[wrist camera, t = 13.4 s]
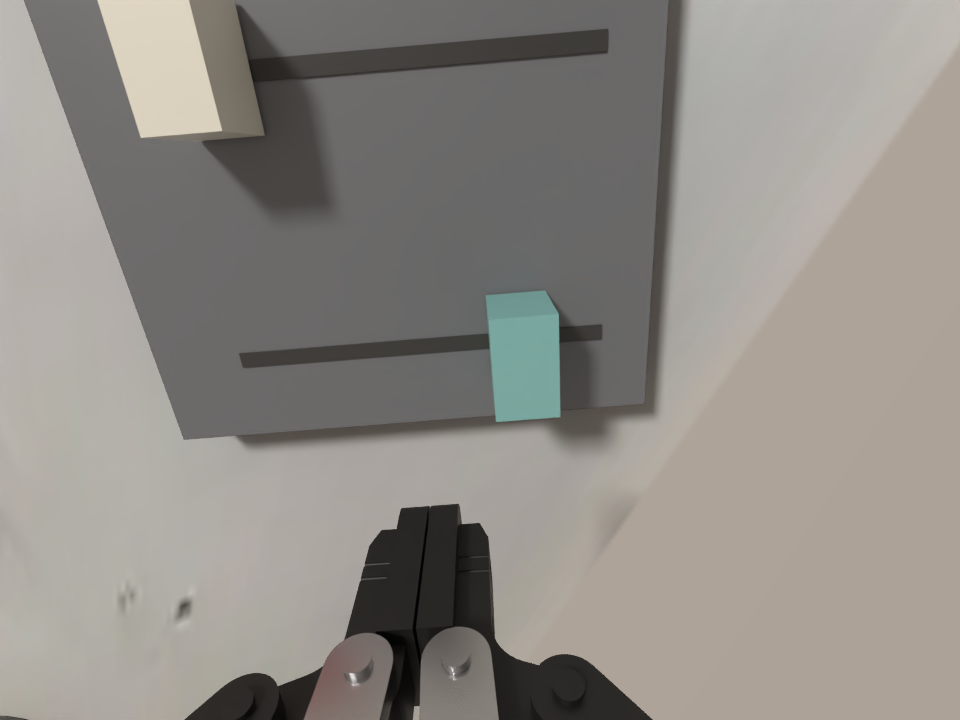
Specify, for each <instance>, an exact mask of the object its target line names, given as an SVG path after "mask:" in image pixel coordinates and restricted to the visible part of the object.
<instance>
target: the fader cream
mask: <svg viewBox="0 0 960 720" xmlns="http://www.w3.org/2000/svg"><path fill="white" fill-rule="evenodd" d="M97 1H98V4H99V7H100V10H101V13H102V17H103V20H104V23H105V26H106V29H107V32H108V36H109V39H110V42H111V45H112V48H113V51H114V55H115V58H116V61H117V64H118V67H119V70H120V74H121V77H122V80H123V83H124V86H125V89H126V93H127V96H128V99H129V102H130V105H131V108H132V112H133V115H134V118H135V121H136V124H137V127H138V131H139V134H140V137H141V138H150V139H167V140H184V141H207V140H219V139H230V138H242V137H254V136H265V134H264V129H263V125H262V120H261V116H260V112H259V107H258V103H257V98H256V94H255V89H254V85H253V81H252V76H251V72H250V67H249V63H248V58H247V54H246V50H245V45H244V41H243V36H242V32H241V27H240V23H239V19H238V14H237V10H236V5H235V1H234V0H97Z"/></svg>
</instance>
